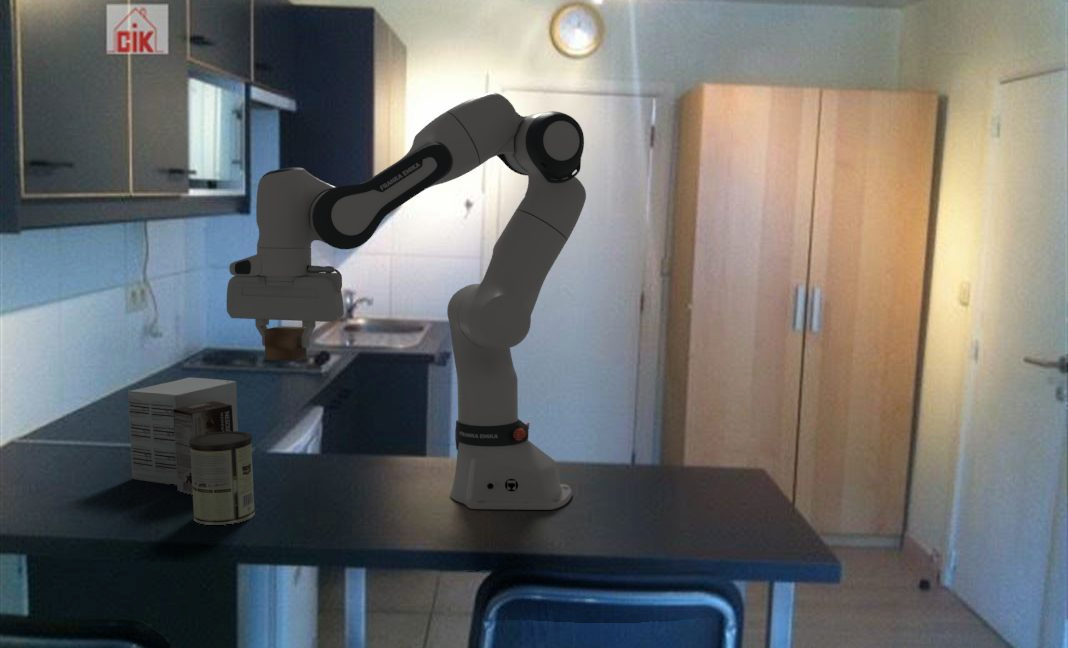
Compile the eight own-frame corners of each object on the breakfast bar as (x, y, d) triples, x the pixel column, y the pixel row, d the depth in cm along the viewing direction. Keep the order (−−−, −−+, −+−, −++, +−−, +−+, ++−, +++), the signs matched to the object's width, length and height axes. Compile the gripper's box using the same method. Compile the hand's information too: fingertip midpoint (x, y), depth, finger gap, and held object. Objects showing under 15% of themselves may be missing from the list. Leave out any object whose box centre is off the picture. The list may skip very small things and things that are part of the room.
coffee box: (216, 481, 191) (212, 400, 189) (237, 486, 187) (233, 404, 185) (175, 491, 183) (171, 408, 181) (196, 497, 180) (192, 411, 178)
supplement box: (193, 459, 208) (189, 376, 206) (241, 465, 202) (238, 380, 200) (129, 479, 192) (124, 389, 190) (179, 486, 187) (175, 394, 185)
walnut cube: (306, 356, 166) (305, 326, 165) (292, 360, 161) (291, 330, 160) (279, 355, 167) (279, 325, 166) (265, 359, 162) (264, 328, 161)
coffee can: (198, 510, 172) (194, 432, 170) (258, 506, 173) (255, 429, 172) (187, 528, 162) (183, 445, 160) (251, 524, 163) (248, 442, 162)
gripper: (349, 265, 163) (350, 346, 164) (240, 263, 168) (242, 342, 169) (333, 267, 157) (334, 351, 158) (220, 264, 162) (222, 346, 163)
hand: (285, 346), depth 164 cm, fingers closed on walnut cube, 5 cm apart
